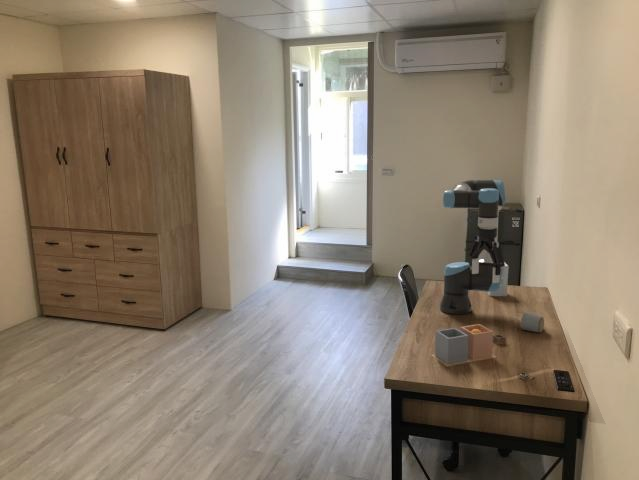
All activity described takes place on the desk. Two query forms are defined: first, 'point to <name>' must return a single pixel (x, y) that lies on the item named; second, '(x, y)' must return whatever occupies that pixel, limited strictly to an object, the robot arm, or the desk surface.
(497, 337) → the stand
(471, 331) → the ball
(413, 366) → the desk surface
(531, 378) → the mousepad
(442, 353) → the double square tube
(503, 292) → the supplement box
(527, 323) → the ceramic mug
